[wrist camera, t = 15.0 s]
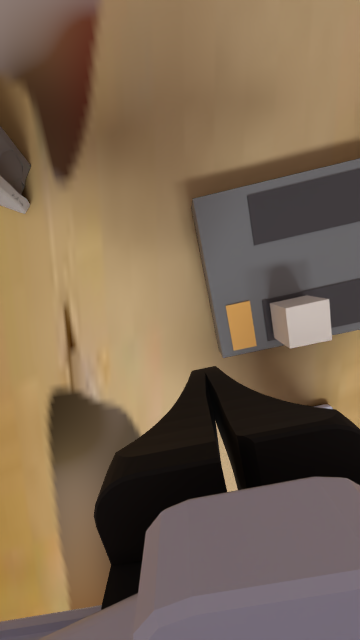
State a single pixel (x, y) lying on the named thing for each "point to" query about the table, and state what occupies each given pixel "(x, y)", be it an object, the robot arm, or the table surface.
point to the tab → (301, 321)
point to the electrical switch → (12, 175)
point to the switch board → (280, 252)
